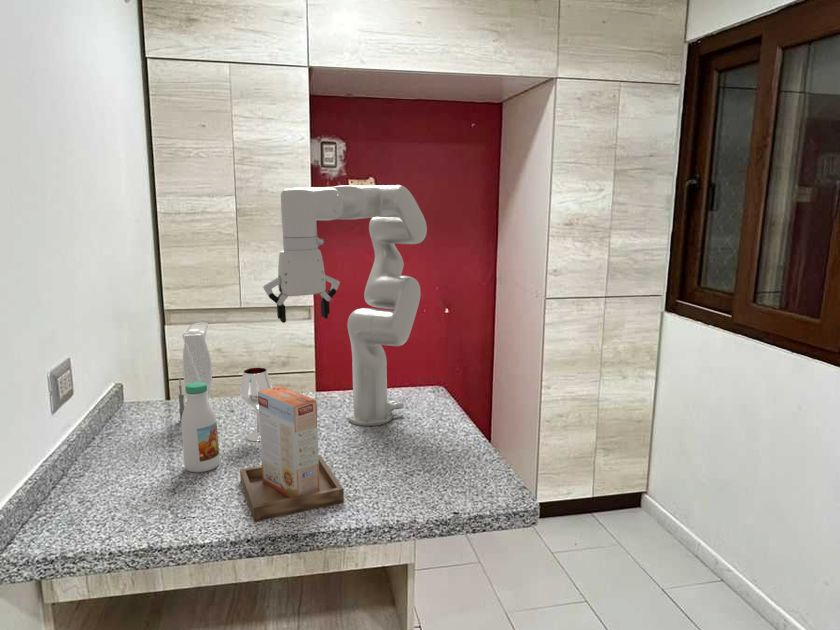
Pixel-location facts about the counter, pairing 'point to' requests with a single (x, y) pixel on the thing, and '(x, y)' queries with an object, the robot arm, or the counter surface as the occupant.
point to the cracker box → (289, 441)
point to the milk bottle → (199, 430)
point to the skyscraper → (195, 362)
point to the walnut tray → (276, 504)
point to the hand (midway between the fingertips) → (304, 319)
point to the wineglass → (254, 392)
